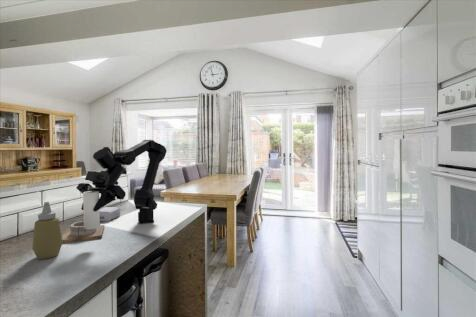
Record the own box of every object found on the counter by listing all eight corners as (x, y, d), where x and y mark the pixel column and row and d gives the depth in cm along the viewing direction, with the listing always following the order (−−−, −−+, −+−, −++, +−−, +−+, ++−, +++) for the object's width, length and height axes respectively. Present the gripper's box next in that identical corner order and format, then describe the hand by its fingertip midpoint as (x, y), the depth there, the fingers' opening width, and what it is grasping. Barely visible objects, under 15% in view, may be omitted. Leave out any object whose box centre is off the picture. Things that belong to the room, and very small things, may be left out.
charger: (126, 213, 139) (110, 221, 124) (110, 212, 139) (92, 220, 124) (126, 204, 138) (110, 211, 123) (110, 204, 139) (92, 211, 124)
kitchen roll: (100, 224, 96) (99, 190, 95) (98, 228, 91) (97, 192, 91) (85, 225, 94) (84, 191, 93) (82, 230, 90) (81, 193, 89)
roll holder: (104, 227, 113) (104, 217, 113) (101, 238, 101) (101, 226, 100) (67, 231, 108) (66, 220, 107) (59, 243, 95) (59, 231, 95)
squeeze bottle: (43, 251, 88) (41, 199, 87) (67, 250, 89) (66, 199, 88) (26, 261, 80) (24, 205, 79) (53, 260, 81) (51, 205, 80)
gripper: (79, 162, 98) (52, 196, 88) (119, 163, 93) (95, 199, 83) (97, 179, 106) (73, 212, 96) (134, 182, 101) (114, 217, 91)
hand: (88, 210), depth 91 cm, fingers closed on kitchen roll, 5 cm apart
